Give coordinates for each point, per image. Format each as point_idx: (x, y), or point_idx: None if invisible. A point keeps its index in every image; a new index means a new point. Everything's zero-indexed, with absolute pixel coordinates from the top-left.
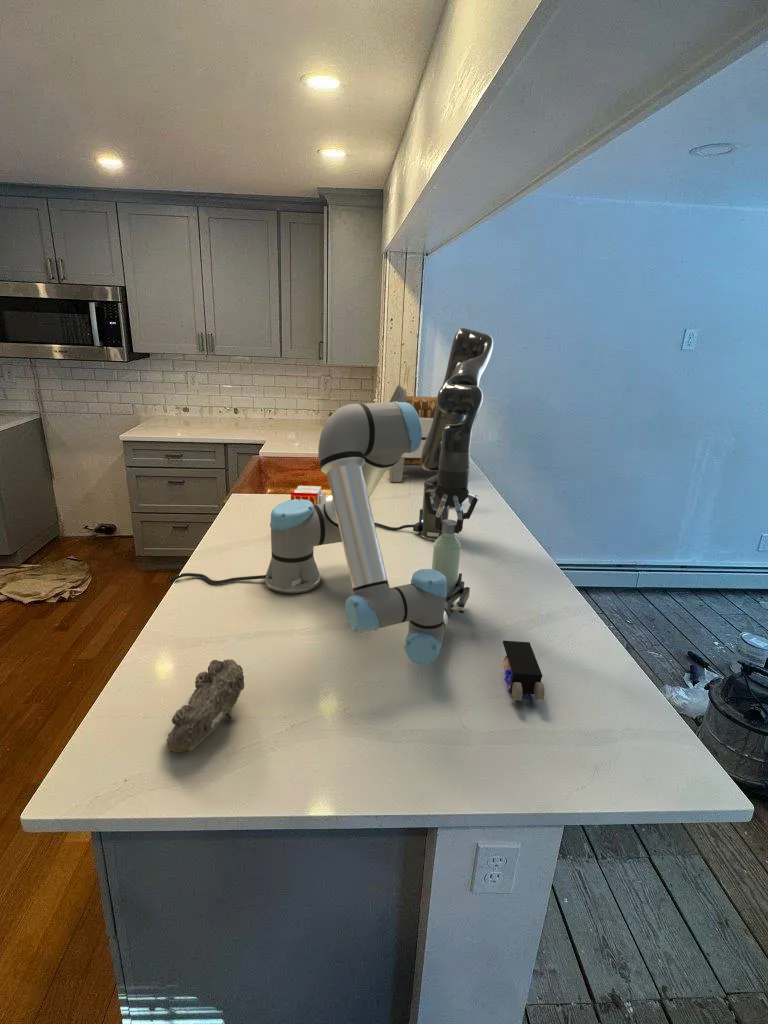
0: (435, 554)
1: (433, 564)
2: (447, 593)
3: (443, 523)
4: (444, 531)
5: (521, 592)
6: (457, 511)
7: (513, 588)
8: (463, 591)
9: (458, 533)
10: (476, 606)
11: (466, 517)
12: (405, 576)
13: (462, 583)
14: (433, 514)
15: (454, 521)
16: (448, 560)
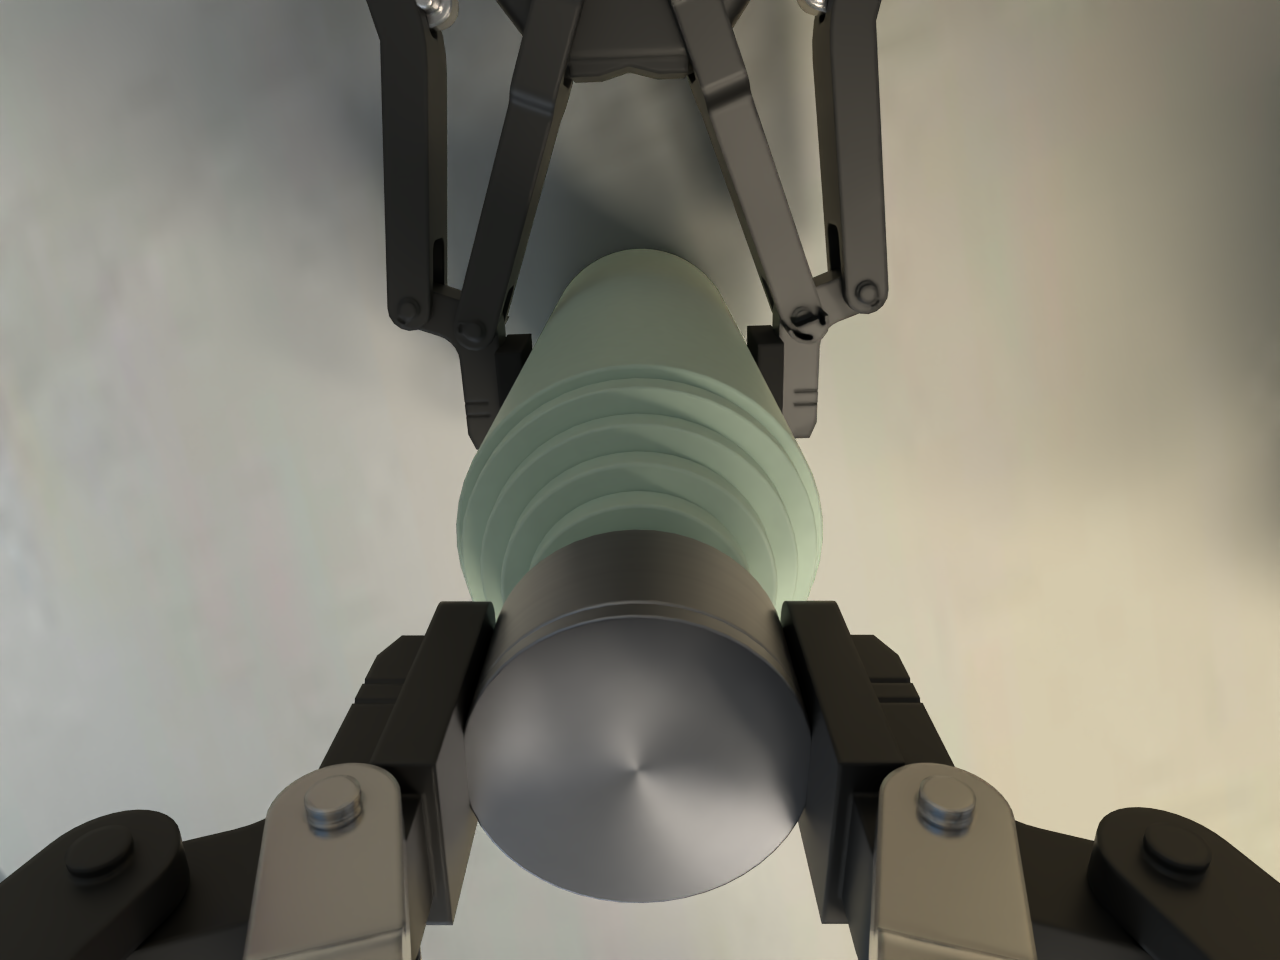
0: (761, 387)
1: (759, 373)
2: (548, 89)
3: (746, 669)
4: (692, 551)
5: (190, 688)
6: (351, 942)
7: (249, 720)
8: (426, 227)
9: (444, 603)
10: (412, 415)
11: (146, 841)
12: (947, 648)
13: (480, 409)
14: (1059, 833)
15: (545, 842)
16: (583, 339)
